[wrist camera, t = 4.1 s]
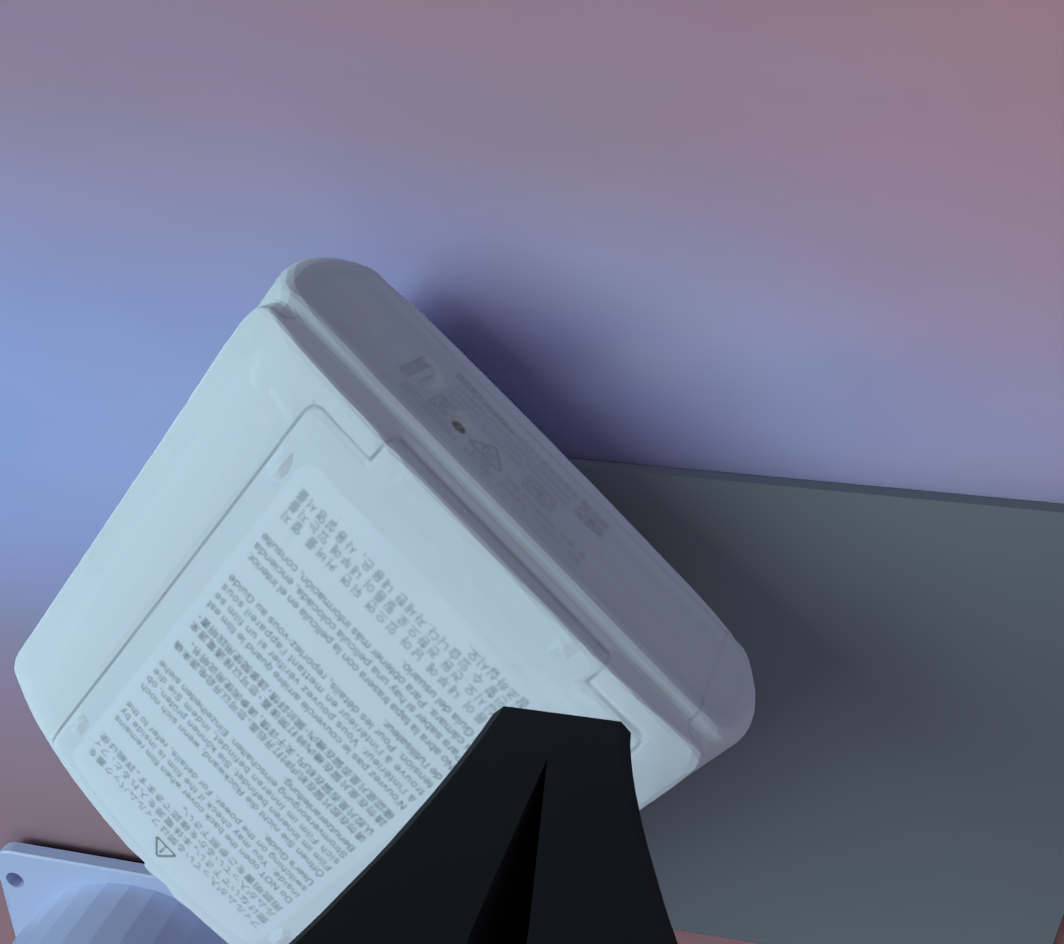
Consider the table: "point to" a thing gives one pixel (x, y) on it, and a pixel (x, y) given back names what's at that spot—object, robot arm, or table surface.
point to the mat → (867, 711)
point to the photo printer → (351, 610)
